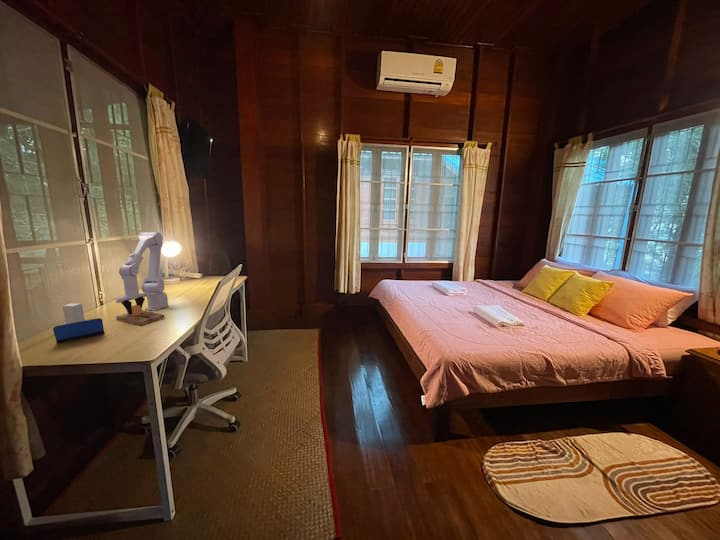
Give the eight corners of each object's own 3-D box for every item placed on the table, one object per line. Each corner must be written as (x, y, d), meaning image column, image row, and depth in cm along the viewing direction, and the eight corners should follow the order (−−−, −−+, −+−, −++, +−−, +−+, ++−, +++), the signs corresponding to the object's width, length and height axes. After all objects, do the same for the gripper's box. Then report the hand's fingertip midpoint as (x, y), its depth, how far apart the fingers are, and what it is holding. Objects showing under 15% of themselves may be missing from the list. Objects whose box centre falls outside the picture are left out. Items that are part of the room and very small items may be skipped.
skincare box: (86, 327, 147) (82, 303, 145) (77, 330, 143) (73, 306, 141) (75, 326, 148) (70, 303, 146) (66, 330, 144) (61, 305, 142)
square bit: (136, 313, 163) (135, 304, 162) (141, 314, 161) (140, 305, 160) (128, 316, 159) (127, 306, 158) (133, 317, 157) (131, 307, 156)
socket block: (141, 313, 168) (141, 309, 168) (164, 318, 160) (164, 314, 159) (116, 320, 157) (116, 316, 157) (140, 325, 149) (139, 322, 148)
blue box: (103, 329, 145) (100, 310, 144) (105, 337, 136) (102, 317, 134) (57, 338, 135) (53, 318, 133) (56, 347, 125) (52, 326, 123)
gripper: (141, 284, 165) (144, 307, 168) (110, 289, 152) (114, 315, 155) (149, 285, 162) (152, 309, 165) (118, 291, 150) (122, 317, 152)
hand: (134, 312), depth 160 cm, fingers closed on square bit, 4 cm apart
